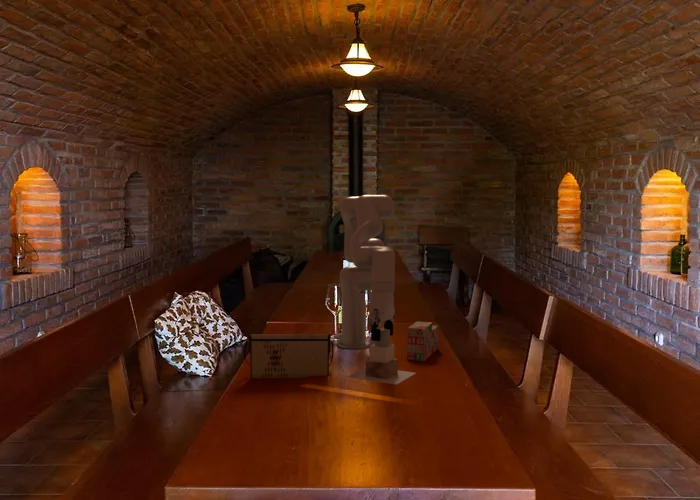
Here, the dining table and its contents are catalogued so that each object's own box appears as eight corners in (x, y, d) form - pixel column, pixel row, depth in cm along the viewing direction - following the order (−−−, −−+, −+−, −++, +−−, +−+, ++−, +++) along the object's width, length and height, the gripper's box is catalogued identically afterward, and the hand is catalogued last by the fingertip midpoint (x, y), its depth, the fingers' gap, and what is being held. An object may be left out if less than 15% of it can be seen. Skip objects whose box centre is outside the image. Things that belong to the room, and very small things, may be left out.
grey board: (346, 380, 242) (346, 376, 242) (368, 369, 256) (368, 366, 256) (396, 388, 233) (396, 384, 233) (416, 376, 247) (416, 372, 247)
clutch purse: (333, 374, 250) (333, 330, 248) (334, 379, 243) (334, 334, 241) (244, 374, 248) (244, 330, 247) (243, 380, 241) (242, 335, 240)
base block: (365, 376, 243) (365, 361, 242) (376, 370, 250) (376, 356, 249) (387, 379, 239) (387, 364, 238) (397, 373, 246) (397, 358, 246)
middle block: (369, 360, 243) (369, 345, 242) (377, 357, 248) (377, 342, 247) (386, 363, 240) (386, 348, 239) (393, 359, 245) (394, 344, 245)
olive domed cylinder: (371, 345, 242) (372, 330, 242) (378, 342, 247) (378, 328, 246) (385, 347, 240) (385, 332, 240) (392, 344, 244) (392, 329, 244)
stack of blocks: (422, 347, 290) (422, 316, 288) (438, 349, 287) (438, 318, 286) (407, 360, 270) (407, 327, 268) (423, 361, 267) (424, 328, 266)
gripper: (383, 282, 251) (383, 331, 253) (360, 289, 236) (359, 341, 237) (404, 284, 247) (403, 334, 249) (381, 291, 232) (381, 344, 234)
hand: (382, 337), depth 243 cm, fingers open, 9 cm apart
